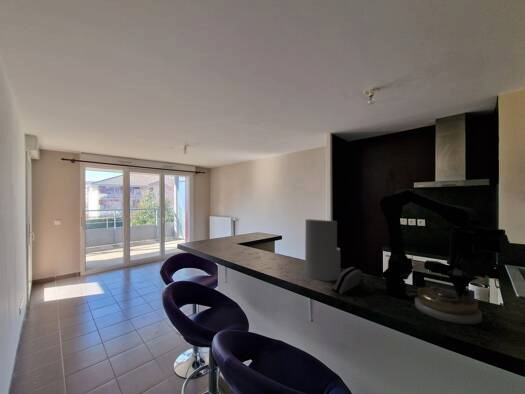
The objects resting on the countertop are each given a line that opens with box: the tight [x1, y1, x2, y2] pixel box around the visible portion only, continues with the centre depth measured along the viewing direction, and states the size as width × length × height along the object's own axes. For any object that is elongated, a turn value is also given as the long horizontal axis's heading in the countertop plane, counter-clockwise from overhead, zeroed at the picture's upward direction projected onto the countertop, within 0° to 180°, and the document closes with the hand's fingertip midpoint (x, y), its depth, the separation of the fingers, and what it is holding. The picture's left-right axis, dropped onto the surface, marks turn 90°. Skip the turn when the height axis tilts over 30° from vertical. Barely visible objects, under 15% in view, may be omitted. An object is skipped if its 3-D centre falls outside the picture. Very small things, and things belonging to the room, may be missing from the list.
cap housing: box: [414, 295, 483, 325], centre depth 81 cm, size 18×18×2 cm
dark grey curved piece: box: [330, 266, 363, 295], centre depth 103 cm, size 17×5×10 cm, turn 135°
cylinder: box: [304, 218, 341, 282], centre depth 121 cm, size 17×17×28 cm
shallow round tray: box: [417, 285, 479, 315], centre depth 81 cm, size 16×16×7 cm
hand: (459, 296), depth 75 cm, fingers closed
